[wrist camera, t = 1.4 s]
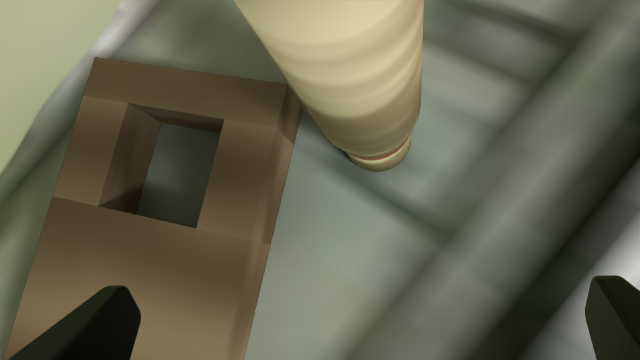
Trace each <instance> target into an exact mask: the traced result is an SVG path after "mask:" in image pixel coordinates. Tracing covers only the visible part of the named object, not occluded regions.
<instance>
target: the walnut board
mask: <svg viewBox="0 0 640 360" xmlns="http://www.w3.org/2000/svg"><path fill="white" fill-rule="evenodd" d="M302 108H303V107H302V105H301V104H300V103H299V101H298V100H297V98H296V97H295V95H294V94H293V92H292V91H291V89H290V88H289V87H288V85H287V84H280V83H273V82H266V81H259V80H252V79H245V78H238V77H231V76H224V75H217V74H210V73H203V72H196V71H189V70H181V69H174V68H167V67H160V66H153V65H146V64H139V63H132V62H125V61H118V60H111V59H104V58H97V57H95V59H94V62H93V65H92V68H91V72H90V75H89V78H88V82H87V85H86V88H85V91H84V95H83V98H82V101H81V104H80V108H79V111H78V114H77V118H76V121H75V124H74V127H73V131H72V134H71V137H70V141H69V144H68V147H67V150H66V154H65V157H64V160H63V164H62V167H61V170H60V173H59V177H58V180H57V183H56V187H55V190H54V193H53V196H52V200H51V203H50V206H49V209H48V213H47V216H46V219H45V223H44V226H43V229H42V232H41V236H40V239H39V242H38V246H37V249H36V252H35V255H34V259H33V262H32V265H31V269H30V272H29V275H28V278H27V282H26V285H25V288H24V292H23V295H22V298H21V301H20V305H19V308H18V311H17V315H16V318H15V321H14V324H13V328H12V331H11V334H10V337H9V341H8V344H7V347H6V351H5V354H4V357H3V360H8V359H9V358H10V357H12V356H13V355H14V354H16V353H17V352H18V351H20V350H21V349H22V348H24V347H25V346H26V345H28V344H29V343H30V342H32V341H33V340H34V339H36V338H37V337H38V336H40V335H41V334H42V333H44V332H45V331H46V330H48V329H49V328H50V327H52V326H53V325H54V324H56V323H57V322H58V321H60V320H61V319H62V318H64V317H65V316H66V315H68V314H69V313H70V312H71V311H73V310H74V309H75V308H77V307H78V306H79V305H81V304H82V303H83V302H85V301H86V300H87V299H89V298H90V297H91V296H93V295H94V294H95V293H97V292H98V291H99V290H101V289H102V288H104V287H106V286H113V285H123V286H126V287H127V288H128V289H129V291H130V293H131V294H132V296H133V298H134V300H135V302H136V304H137V305H138V307H139V309H140V312H141V323H140V327H139V330H138V334H137V337H136V341H135V344H134V348H133V351H132V355H131V358H130V360H244V356H245V352H246V348H247V343H248V339H249V335H250V330H251V326H252V322H253V318H254V313H255V309H256V305H257V301H258V296H259V292H260V288H261V283H262V279H263V275H264V271H265V266H266V262H267V258H268V254H269V249H270V245H271V241H272V236H273V232H274V228H275V224H276V219H277V215H278V211H279V207H280V202H281V198H282V194H283V189H284V185H285V181H286V177H287V172H288V168H289V164H290V160H291V155H292V151H293V147H294V142H295V138H296V134H297V130H298V125H299V121H300V117H301V113H302ZM161 122H162V123H168V124H174V125H180V126H186V127H191V128H197V129H203V130H209V131H214V132H220V133H221V134H220V138H219V142H218V146H217V150H216V154H215V157H214V161H213V165H212V169H211V173H210V177H209V181H208V185H207V188H206V192H205V196H204V200H203V204H202V208H201V212H200V216H199V219H198V223H197V227H191V226H187V225H182V224H178V223H173V222H169V221H165V220H160V219H156V218H151V217H147V216H143V215H138V214H136V210H137V206H138V203H139V199H140V196H141V192H142V188H143V185H144V181H145V178H146V174H147V170H148V167H149V163H150V160H151V156H152V152H153V149H154V145H155V142H156V138H157V134H158V131H159V127H160V124H161Z"/></svg>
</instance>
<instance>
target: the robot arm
mask: <svg viewBox="0 0 640 360" xmlns="http://www.w3.org/2000/svg"><path fill="white" fill-rule="evenodd" d="M585 317H586V322H587V325H588V329H589V333H590V337H591V340H592V344H593V348H594V351H595V355H596V359H597V360H640V291H639V290H638V289H637V288H635V287H634V286H633V285H631V284H630V283H629V282H628V281H626V280H625V279H624V278H622V277H620V276H595V277H594V278H593V279H592V281H591V284H590V288H589V293H588V297H587V302H586V306H585ZM140 323H141V312H140V309H139V307H138V305H137V304H136V302H135V300H134V298H133V296H132V294H131V293H130V291H129V289H128V288H127V287H126V286H123V285H113V286H106V287H104V288H102V289H101V290H99V291H98V292H97V293H95V294H94V295H93V296H91V297H90V298H89V299H87V300H86V301H85V302H83V303H82V304H81V305H79V306H78V307H77V308H75V309H74V310H73V311H71V312H70V313H69V314H68V315H66V316H65V317H64V318H62V319H61V320H60V321H58V322H57V323H56V324H54V325H53V326H52V327H50V328H49V329H48V330H46V331H45V332H44V333H42V334H41V335H40V336H38V337H37V338H36V339H34V340H33V341H32V342H30V343H29V344H28V345H26V346H25V347H24V348H22V349H21V350H20V351H18V352H17V353H16V354H14V355H13V356H12V357H10V358H9V359H8V360H130V358H131V355H132V351H133V348H134V344H135V341H136V337H137V334H138V330H139V327H140Z"/></svg>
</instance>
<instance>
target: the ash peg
mask: <svg viewBox="0 0 640 360" xmlns="http://www.w3.org/2000/svg"><path fill="white" fill-rule="evenodd" d="M234 1H235V3H236V5H237V6H238V8H239V9H240V11H241V12H242V14H243V15H244V17H245V18H246V20H247V21H248V23H249V24H250V26H251V27H252V29H253V30H254V32H255V33H256V35H257V36H258V38H259V39H260V41H261V42H262V44H263V45H264V46H265V48H266V49H267V51H268V52H269V54H270V55H271V57H272V58H273V60H274V61H275V63H276V64H277V66H278V67H279V69H280V70H281V72H282V73H283V75H284V76H285V78H286V79H287V81H288V82H289V84H290V85H291V87H292V88H293V89H294V91H295V92H296V94H297V95H298V97H299V98H300V100H301V101H302V103H303V104H304V106H305V107H306V109H307V110H308V112H309V113H310V115H311V116H312V118H313V119H314V121H315V122H316V124H317V125H318V127H319V128H320V130H321V131H322V133H323V134H324V135H325V136H326V138H327V139H328V140H329V141H330V142H331V143H332V144H334V145H335V146H336V147H338V148H340V149H342V150H343V151H345V152H346V153H347V154H348V156H349V158H350V159H351V160H352V161H353V162H354V163H355V164H356V165H357V166H359V167H360V168H362V169H365V170H368V171H374V172H380V171H385V170H389V169H391V168H393V167H395V166H396V165H398V164H399V163H400V162H401V161H402V160H403V159H404V158H405V156H406V155H407V153H408V151H409V148H410V145H411V132H412V130H413V128H414V126H415V124H416V122H417V119H418V116H419V113H420V106H421V77H422V42H423V7H424V0H234Z"/></svg>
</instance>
